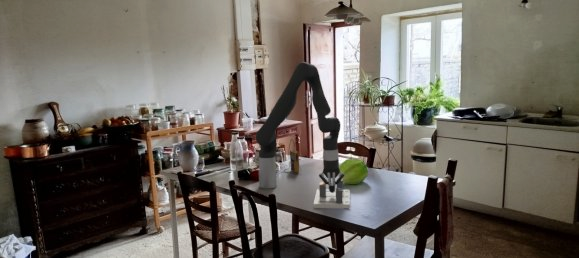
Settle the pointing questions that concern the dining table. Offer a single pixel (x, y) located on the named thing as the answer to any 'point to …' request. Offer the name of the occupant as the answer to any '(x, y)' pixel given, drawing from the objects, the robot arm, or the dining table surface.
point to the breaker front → (338, 195)
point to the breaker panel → (332, 200)
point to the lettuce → (353, 171)
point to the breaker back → (340, 184)
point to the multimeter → (294, 160)
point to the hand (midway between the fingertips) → (332, 192)
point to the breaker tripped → (322, 189)
